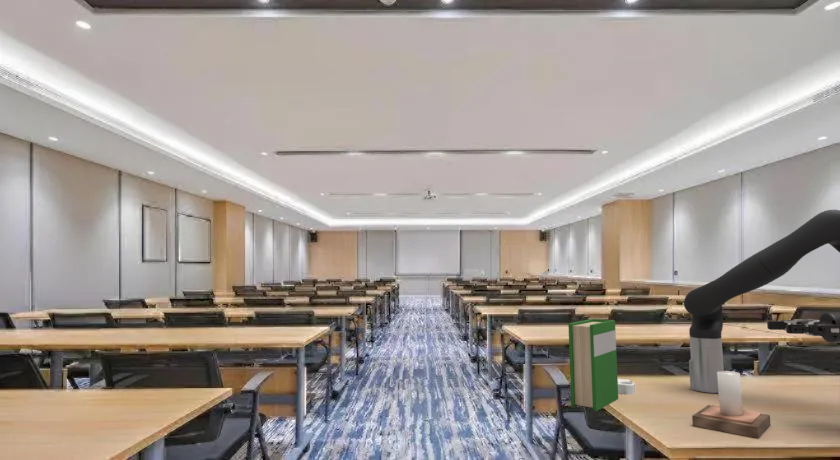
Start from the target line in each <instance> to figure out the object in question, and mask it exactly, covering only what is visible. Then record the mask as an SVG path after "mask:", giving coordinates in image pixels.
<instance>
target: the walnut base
mask: <svg viewBox="0 0 840 460" xmlns="http://www.w3.org/2000/svg"><path fill="white" fill-rule="evenodd" d="M691 418H692V427H697V428H702V429H708V430H712V431H717V432H718V431H719V432H723V433H728V434H733V435H739V436H743V437H744V436H745V437H750V438H755V439H760V438H761V436H762V435H763V434H764V433H765V432H766V431H767V430H768V428H769V427H770V426H771V424H772V423H771V415H770V414H768V413H767V414H766V413H762V412H758V411H757V412H756V411H752V410H745V409H743V415H742V416H730V415H725V414H722V413H720V407H719V405H710V404H708V405H706V406H704V407H703V408H702V409H700V410H699V411H697V412H696V413H694V414H692V415H691Z"/></svg>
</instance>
